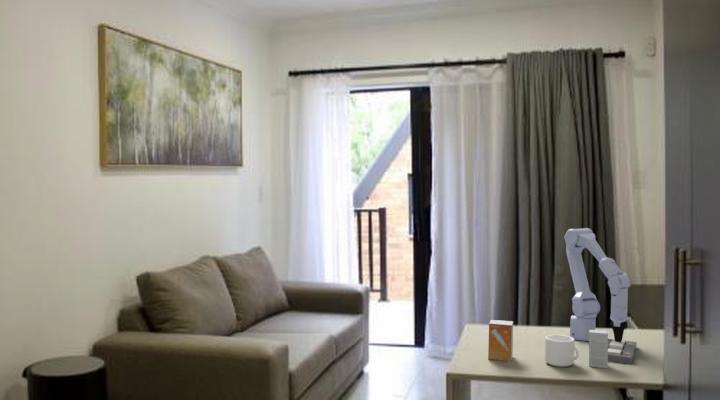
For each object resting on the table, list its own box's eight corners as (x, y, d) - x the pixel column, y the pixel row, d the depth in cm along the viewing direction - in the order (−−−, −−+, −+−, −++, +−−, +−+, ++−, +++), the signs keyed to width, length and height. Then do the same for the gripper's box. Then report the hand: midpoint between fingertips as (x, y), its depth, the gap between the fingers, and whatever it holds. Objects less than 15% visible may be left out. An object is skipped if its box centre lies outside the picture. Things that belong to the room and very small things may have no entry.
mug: (586, 365, 220) (587, 339, 220) (570, 371, 213) (571, 344, 213) (555, 357, 229) (555, 332, 229) (539, 363, 222) (539, 337, 222)
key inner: (611, 348, 240) (611, 342, 240) (612, 345, 244) (612, 339, 244) (623, 349, 238) (624, 343, 238) (625, 346, 242) (625, 340, 241)
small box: (488, 359, 226) (488, 323, 226) (490, 354, 232) (490, 319, 232) (511, 361, 224) (512, 325, 223) (512, 356, 230) (513, 320, 229)
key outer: (606, 358, 227) (607, 351, 227) (608, 354, 231) (608, 348, 231) (620, 359, 225) (620, 353, 225) (621, 356, 229) (621, 349, 229)
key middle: (609, 351, 234) (609, 344, 233) (610, 348, 237) (610, 342, 237) (622, 353, 231) (622, 346, 231) (623, 349, 235) (623, 343, 235)
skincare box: (607, 365, 221) (607, 330, 220) (607, 368, 216) (608, 333, 216) (588, 363, 222) (589, 329, 222) (588, 366, 218) (589, 332, 218)
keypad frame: (594, 359, 227) (594, 352, 227) (602, 343, 247) (602, 337, 247) (631, 364, 222) (631, 357, 221) (636, 347, 242) (636, 341, 242)
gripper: (628, 310, 232) (628, 347, 232) (632, 303, 244) (631, 338, 245) (608, 308, 235) (607, 345, 236) (612, 301, 248) (611, 336, 248)
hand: (618, 341), depth 241 cm, fingers closed, pressing on key inner
